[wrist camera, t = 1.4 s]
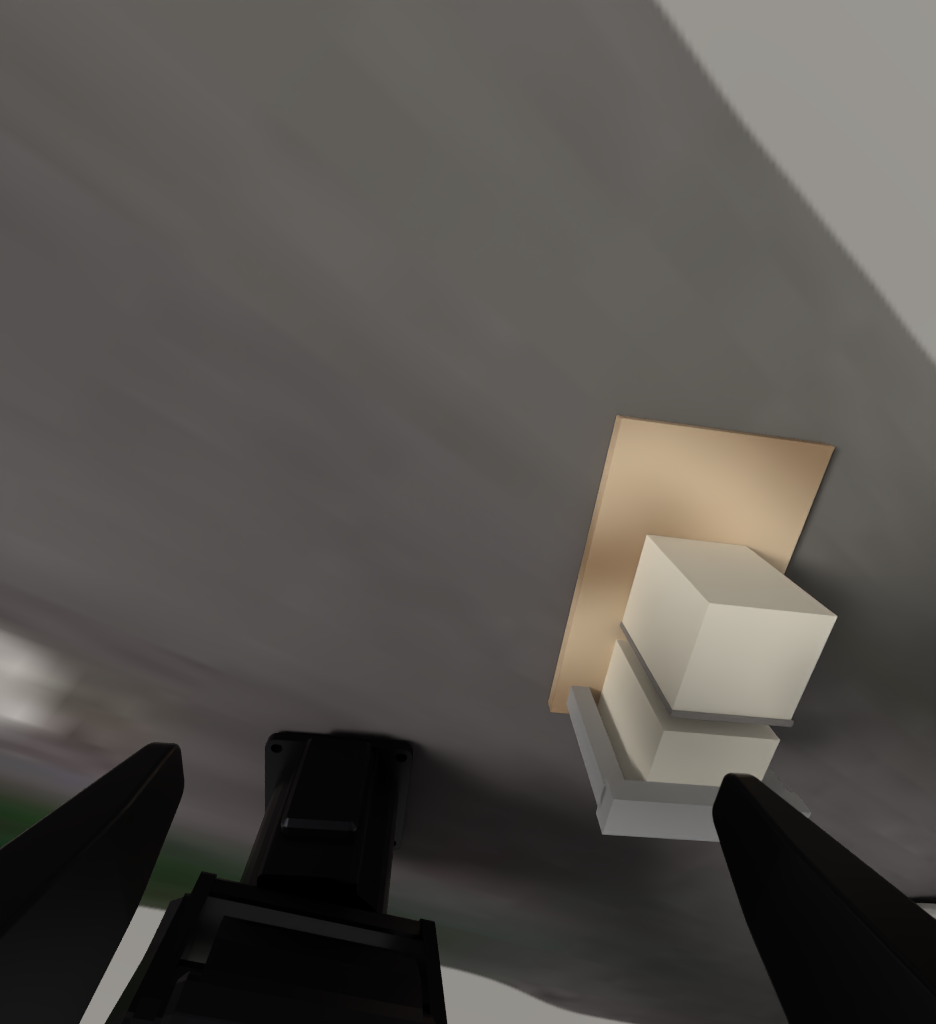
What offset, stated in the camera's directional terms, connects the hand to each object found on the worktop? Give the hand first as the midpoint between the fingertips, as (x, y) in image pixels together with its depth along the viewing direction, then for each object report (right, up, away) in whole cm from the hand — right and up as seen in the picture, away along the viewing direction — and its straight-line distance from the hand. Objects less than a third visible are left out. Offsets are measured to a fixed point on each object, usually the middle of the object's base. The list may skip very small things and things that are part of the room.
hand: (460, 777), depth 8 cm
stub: (+9, +1, +12) cm, 15 cm away
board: (+9, +1, +13) cm, 15 cm away
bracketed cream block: (+8, -3, +14) cm, 16 cm away
